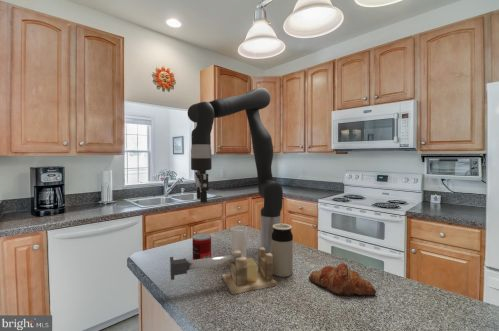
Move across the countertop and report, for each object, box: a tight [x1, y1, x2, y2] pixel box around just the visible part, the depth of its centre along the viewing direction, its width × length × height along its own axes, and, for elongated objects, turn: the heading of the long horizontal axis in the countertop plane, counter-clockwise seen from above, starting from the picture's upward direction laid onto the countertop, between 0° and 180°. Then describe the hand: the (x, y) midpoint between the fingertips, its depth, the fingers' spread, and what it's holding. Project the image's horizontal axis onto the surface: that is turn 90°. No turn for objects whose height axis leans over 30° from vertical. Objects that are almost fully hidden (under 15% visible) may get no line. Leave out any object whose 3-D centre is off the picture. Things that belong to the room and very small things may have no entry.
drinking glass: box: [230, 225, 248, 258], centre depth 104 cm, size 7×7×15 cm
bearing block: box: [221, 246, 277, 295], centre depth 89 cm, size 16×12×10 cm
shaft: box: [169, 253, 240, 281], centre depth 84 cm, size 23×6×5 cm, turn 110°
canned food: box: [192, 232, 212, 260], centre depth 107 cm, size 8×8×11 cm
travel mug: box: [272, 223, 294, 278], centre depth 96 cm, size 8×8×18 cm
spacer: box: [246, 257, 258, 283], centre depth 90 cm, size 4×6×6 cm, turn 20°
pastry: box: [308, 262, 377, 297], centre depth 86 cm, size 17×15×8 cm
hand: (201, 200), depth 94 cm, fingers open, 8 cm apart
